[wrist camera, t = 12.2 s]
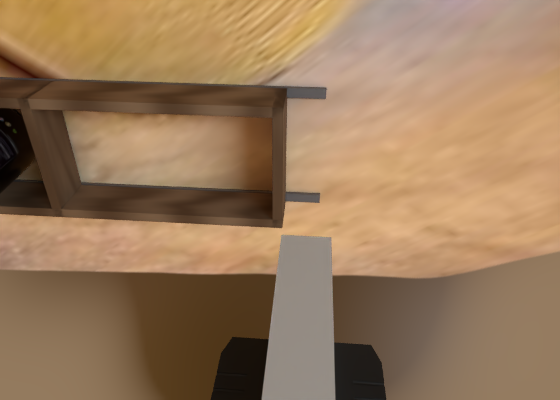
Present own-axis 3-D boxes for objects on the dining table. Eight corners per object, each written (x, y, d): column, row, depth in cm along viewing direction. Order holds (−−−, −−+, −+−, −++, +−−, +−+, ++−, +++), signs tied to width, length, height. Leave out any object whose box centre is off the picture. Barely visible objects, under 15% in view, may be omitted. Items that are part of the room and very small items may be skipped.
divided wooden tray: (287, 88, 36) (283, 107, 33) (285, 201, 42) (282, 228, 39) (-72, 76, 38) (-110, 94, 35) (-26, 187, 44) (-55, 211, 40)
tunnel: (329, 39, 34) (333, 130, 21) (317, 233, 44) (315, 379, 31) (-248, 24, 37) (-569, 96, 24) (-139, 210, 47) (-322, 334, 34)
